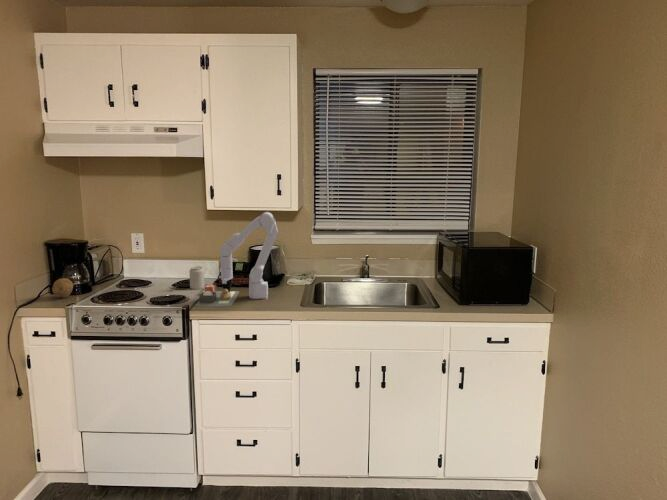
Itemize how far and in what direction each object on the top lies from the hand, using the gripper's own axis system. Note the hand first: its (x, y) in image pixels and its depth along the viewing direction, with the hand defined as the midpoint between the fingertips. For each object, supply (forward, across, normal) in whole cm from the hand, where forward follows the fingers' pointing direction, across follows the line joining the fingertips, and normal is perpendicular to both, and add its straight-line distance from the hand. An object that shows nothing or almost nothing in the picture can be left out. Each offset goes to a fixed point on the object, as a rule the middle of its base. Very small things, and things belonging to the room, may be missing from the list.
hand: (227, 294), depth 235 cm
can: (+3, -19, -20) cm, 27 cm away
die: (+1, -6, -10) cm, 12 cm away
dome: (+1, +7, -8) cm, 11 cm away
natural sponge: (+3, +1, -80) cm, 81 cm away
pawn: (+1, +4, 0) cm, 4 cm away
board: (+2, +2, -4) cm, 5 cm away
